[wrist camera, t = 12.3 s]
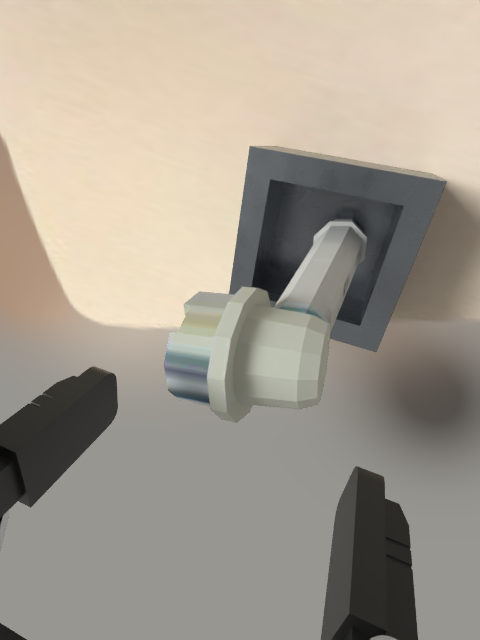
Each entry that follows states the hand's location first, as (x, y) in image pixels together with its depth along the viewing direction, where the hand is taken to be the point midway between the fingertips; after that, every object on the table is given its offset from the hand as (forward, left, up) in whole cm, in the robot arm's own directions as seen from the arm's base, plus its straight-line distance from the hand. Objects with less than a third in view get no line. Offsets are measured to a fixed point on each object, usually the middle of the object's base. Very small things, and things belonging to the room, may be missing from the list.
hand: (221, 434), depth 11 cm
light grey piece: (0, 0, -27) cm, 27 cm away
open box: (0, 0, -28) cm, 28 cm away
